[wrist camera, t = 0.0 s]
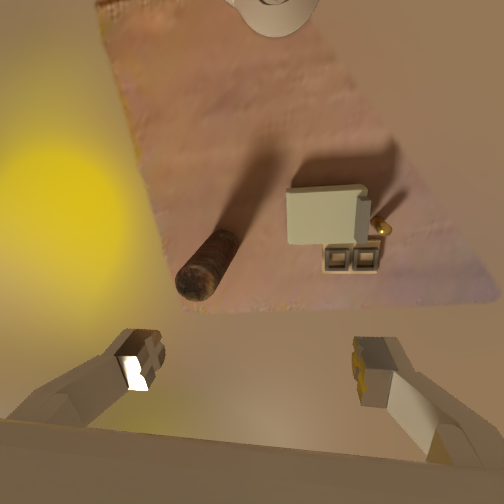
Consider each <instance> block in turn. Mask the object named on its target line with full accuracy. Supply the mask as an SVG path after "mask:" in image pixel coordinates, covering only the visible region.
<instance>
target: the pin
mask: <svg viewBox="0 0 504 504" xmlns="http://www.w3.org/2000/svg"><path fill="white" fill-rule="evenodd" d="M370 224H371V225H372V226H373V228H374V229H375V230H376V231H377V232H378V233H379V234H380V235H381V236H383V237H386V236H389V235H390V234H391V232H392V227H391V226H390V225H389V224H388V223H386V222H385V221H384V220H383V219H382V218H381V217H380V216H374V217H373V218H372V219H371V221H370Z"/></svg>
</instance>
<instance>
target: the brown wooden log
mask: <svg viewBox="0 0 504 504" xmlns="http://www.w3.org/2000/svg"><path fill="white" fill-rule="evenodd" d="M237 250H238V243H237V241H236V239H235V237H234V236H233V235H232V234H231V233H230V232H227V231H216V232H214V233H213V234H211V235H210V237H209V238H208V239H207V240H206V241H205V242H204V243H203V244H202V246H201V247H200V248H199V249H198V250H197V251H196V252H195V254H194V255H193V256H192V257H191V258H190V259H189V260H188V261H187V263H186V264H185V265H184V266H183V267H182V268H181V269H180V270H179V272H178V273H177V275H176V278H175V284H176V289H177V290H178V293H180V294H181V295H182V296H183V297H185V298H186V299H187V300H190V301H195V302H197V301H203V300H206V299H207V298H209V297H210V296H211V295H212V294H213V293H214V292H215V290H216V288H217V286H218V285H219V283H220V281H221V279H222V277H223V276H224V274H225V272H226V270H227V268H228V267H229V265H230V263H231V261H232V260H233V258H234V256H235V254H236V253H237Z"/></svg>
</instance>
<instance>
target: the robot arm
mask: <svg viewBox="0 0 504 504" xmlns="http://www.w3.org/2000/svg"><path fill="white" fill-rule="evenodd" d="M225 1H226V2H228V3H229V4H230V5H232V6H234V7H235V8H237V10H238V11H239V12H240V14H241V15H242V17H243V18H244V20H245V21H246V23H247V24H248V25H249V26H250V27H251V28H252V29H253V30H255V31H256V32H258V33H259V34H262V35H264V36H268V37H282V36H286V35H288V34H291V33H293V32H294V31H296V30H297V29H299V28H300V27H301V26H302V25H303V24H304V23H305V22H306V21H307V20H308V19H309V17H310V16H311V15H312V13H313V11H314V10H315V8H316V6H317V4H318V2H319V0H225ZM161 337H162V336H161V333H160V331H158V330H147V329H125V330H123V331H122V332H121V333H120V335H119V336H118V337H117V338H116V339H115V340H114V341H113V343H112V344H111V345H110V346H109V347H108V348H107V349H106V350H105V352H104V353H103V354H102V355H100V356H99V355H98V356H96V357H94V358H92V359H90V360H89V361H87V362H85V363H83V364H81V365H79V366H78V367H76V368H74V369H72V370H70V371H68V372H67V373H65V374H63V375H61V376H59V377H58V378H56V379H54V380H52V381H51V382H48V383H47V384H45V385H43V386H41V387H39V388H38V389H36V390H34V391H33V392H32V393H31V394H30V395H29V396H28V397H27V398H26V399H25V400H24V401H23V402H22V403H21V404H20V405H19V406H18V407H17V408H16V409H15V410H14V411H13V412H12V413H11V414H10V415H9V416H8V417H7V418H6V419H1V418H0V504H504V439H503V437H502V435H501V434H500V432H499V431H498V430H497V428H496V427H495V426H493V425H492V424H491V423H489V422H488V421H487V420H485V419H484V418H482V417H481V416H480V415H478V414H477V413H476V412H474V411H473V410H471V409H470V408H468V407H467V406H466V405H465V404H463V403H462V402H460V401H459V400H458V399H456V398H455V397H454V396H452V395H451V394H449V393H448V392H447V391H445V390H444V389H442V388H441V387H440V386H438V385H437V384H436V383H434V382H433V381H432V380H430V379H429V378H427V377H426V376H425V375H423V374H422V373H421V372H415V370H414V368H413V366H412V364H411V362H410V360H409V359H408V357H407V355H406V353H405V351H404V349H403V347H402V345H401V343H400V342H399V340H398V339H397V338H396V337H354V339H353V347H354V352H353V353H352V370H353V375H354V379H355V380H356V381H357V382H358V384H357V391H358V395H359V399H360V402H361V406H367V407H378V408H387V411H388V412H389V413H390V414H391V415H392V416H393V418H394V419H395V420H396V421H397V422H398V423H399V424H400V425H401V426H402V427H403V429H404V430H405V431H406V432H407V433H408V434H409V436H410V437H411V438H412V439H413V440H414V441H415V442H416V444H417V445H418V446H419V447H420V448H421V449H422V450H423V451H424V453H425V454H426V455H427V458H426V462H415V461H406V460H397V459H388V458H387V459H386V458H378V457H368V456H359V455H349V454H340V453H329V452H320V451H309V450H300V449H291V448H280V447H271V446H261V445H252V444H241V443H232V442H223V441H213V440H204V439H194V438H184V437H175V436H165V435H156V434H146V433H136V432H127V431H117V430H107V429H98V428H88V427H86V426H87V425H88V424H90V423H91V422H92V421H93V420H94V419H95V418H97V417H98V416H99V415H100V414H101V413H103V412H104V411H105V410H106V409H107V408H109V407H110V406H111V405H112V404H113V403H114V402H116V401H117V400H118V399H119V398H120V397H121V396H123V395H124V394H125V393H126V392H127V391H129V390H128V389H132V390H148V389H149V387H150V385H151V384H152V382H153V380H154V379H155V377H156V376H155V371H157V370H158V369H160V368H161V366H162V364H163V362H164V359H165V347H164V345H163V344H162V343H161V342H160V340H161Z"/></svg>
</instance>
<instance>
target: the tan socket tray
mask: <svg viewBox="0 0 504 504" xmlns="http://www.w3.org/2000/svg"><path fill="white" fill-rule="evenodd" d="M380 242H381V240H380V239H368V240H367V244H357V243H341V244H322V274H377V267H378V258H379V250H380Z"/></svg>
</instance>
